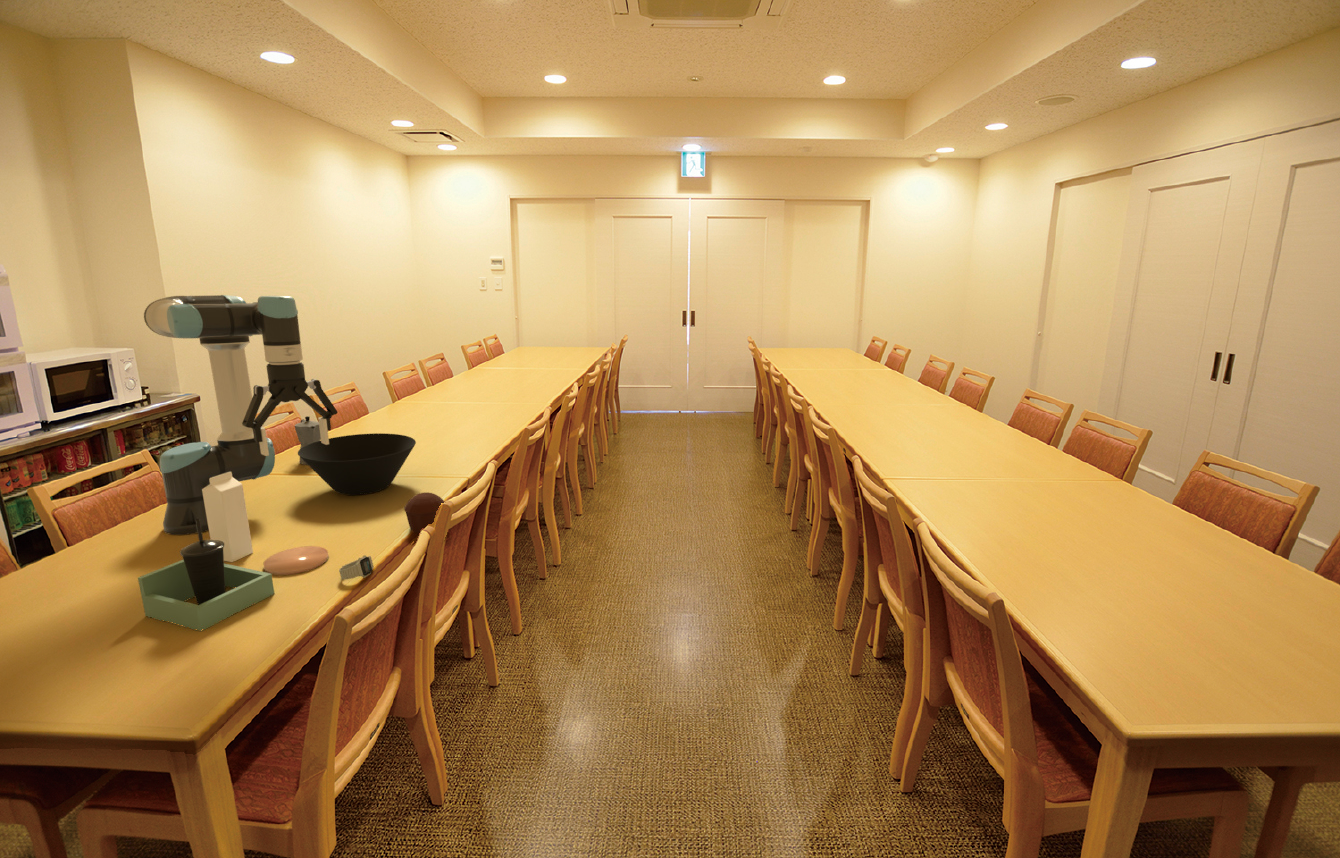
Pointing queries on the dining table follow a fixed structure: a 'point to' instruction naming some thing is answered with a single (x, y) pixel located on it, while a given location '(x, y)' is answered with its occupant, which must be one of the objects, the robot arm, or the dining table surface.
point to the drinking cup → (205, 567)
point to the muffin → (422, 510)
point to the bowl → (358, 461)
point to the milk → (228, 516)
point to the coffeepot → (307, 433)
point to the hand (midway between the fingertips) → (296, 449)
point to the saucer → (295, 560)
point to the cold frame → (174, 587)
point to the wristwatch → (357, 568)
